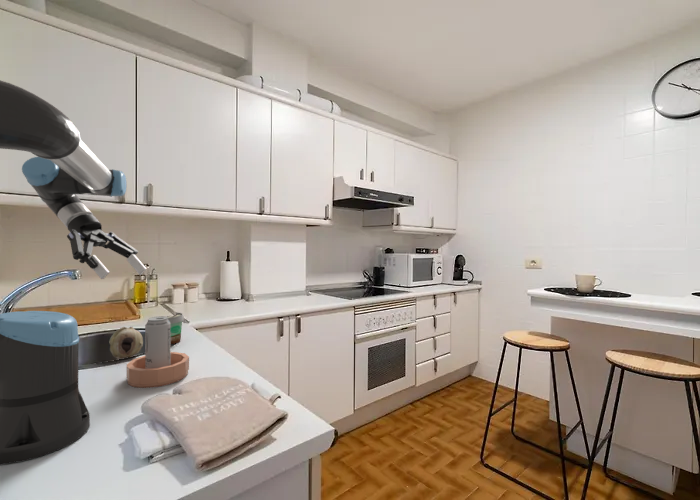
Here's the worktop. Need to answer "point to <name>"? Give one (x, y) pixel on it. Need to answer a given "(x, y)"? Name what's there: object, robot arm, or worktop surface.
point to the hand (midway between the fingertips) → (125, 273)
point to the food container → (175, 327)
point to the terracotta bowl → (157, 372)
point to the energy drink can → (157, 342)
